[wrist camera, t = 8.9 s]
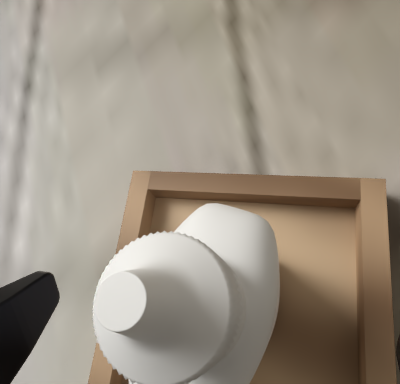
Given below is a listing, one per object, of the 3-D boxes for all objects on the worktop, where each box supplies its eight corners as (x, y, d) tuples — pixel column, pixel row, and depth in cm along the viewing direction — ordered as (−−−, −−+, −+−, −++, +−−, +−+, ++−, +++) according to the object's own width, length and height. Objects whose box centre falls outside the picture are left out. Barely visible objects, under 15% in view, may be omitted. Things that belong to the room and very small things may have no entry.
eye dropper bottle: (319, 306, 14) (451, 281, 3) (224, 397, 14) (9, 716, 3) (249, 234, 16) (183, 61, 5) (163, 313, 16) (-112, 314, 5)
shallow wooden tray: (389, 502, 12) (404, 529, 10) (96, 426, 15) (76, 438, 13) (375, 191, 16) (385, 178, 14) (144, 181, 19) (133, 170, 17)
